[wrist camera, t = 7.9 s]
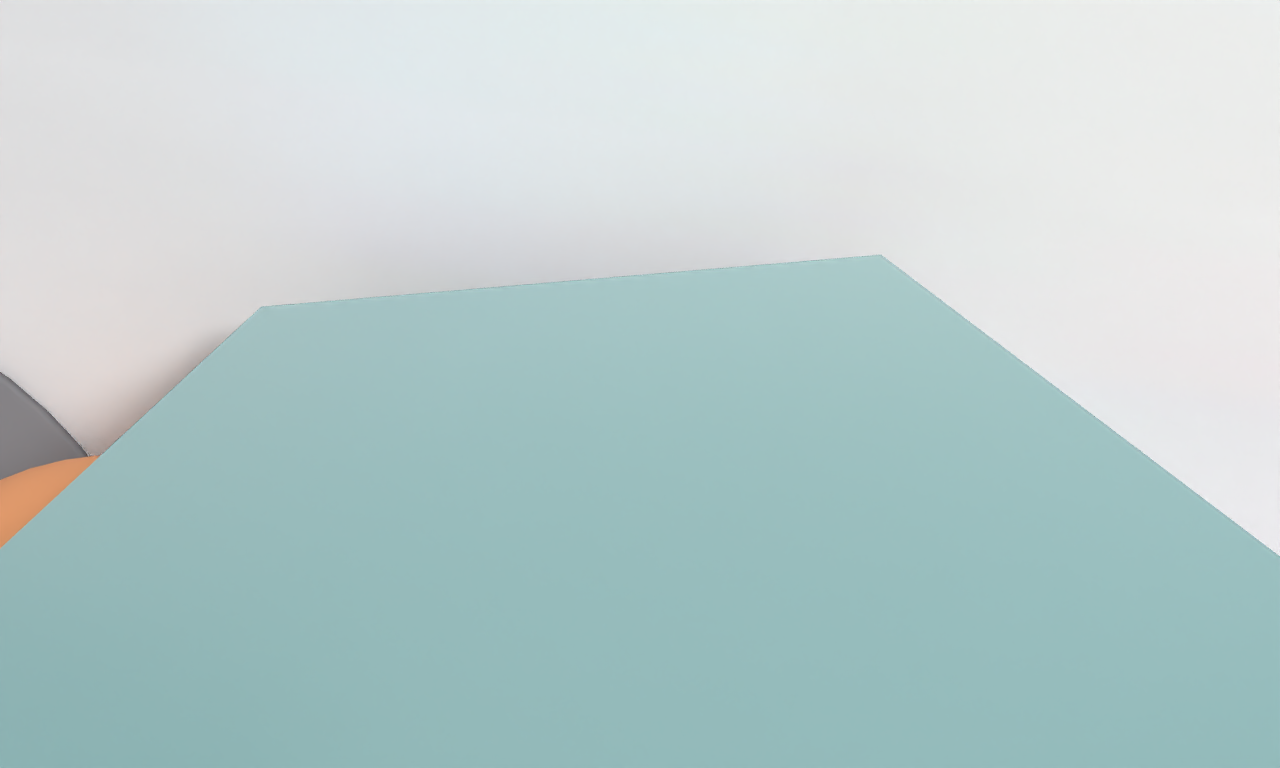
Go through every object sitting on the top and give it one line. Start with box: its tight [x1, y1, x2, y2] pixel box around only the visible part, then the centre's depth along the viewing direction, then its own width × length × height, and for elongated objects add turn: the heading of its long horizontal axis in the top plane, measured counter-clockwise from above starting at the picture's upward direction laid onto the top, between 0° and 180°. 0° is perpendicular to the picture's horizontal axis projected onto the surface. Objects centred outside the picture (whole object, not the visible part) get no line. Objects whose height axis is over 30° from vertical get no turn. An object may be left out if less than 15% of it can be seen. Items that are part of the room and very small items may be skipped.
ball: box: [0, 456, 100, 548], centre depth 12 cm, size 5×5×5 cm
